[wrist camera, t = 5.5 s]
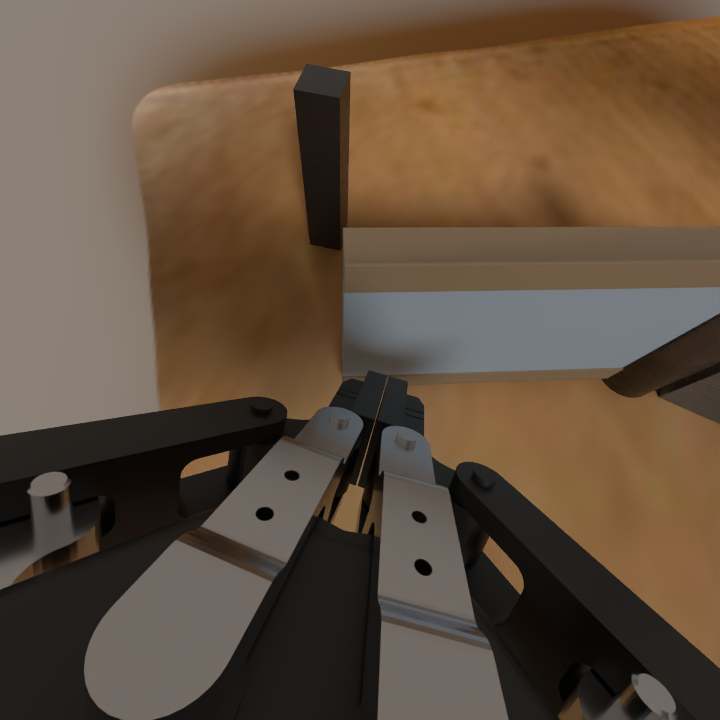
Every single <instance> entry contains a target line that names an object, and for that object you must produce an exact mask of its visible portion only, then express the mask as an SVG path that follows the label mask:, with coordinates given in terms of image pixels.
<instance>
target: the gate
mask: <svg viewBox="0 0 720 720" xmlns="http://www.w3.org/2000/svg"><path fill="white" fill-rule="evenodd" d="M719 313H720V226H707V227H386V228H343V298H342V377H343V382H344V381H346V380H348V379H351V378H353V379H356V380H360V381H363V382H364V380H365V378H366V375H367V373H368V371H369V370H371V371H374V372H377V373H381V374H384V375H387V379H386V383H385V386H386V385H387V381H388V378H389V376H391V377H394V378H398V379H401V380H405V381H408V385H423V384H453V383H483V382H514V381H544V380H574V379H604V378H609V377H611V376H612V375H614V374H616V373H618V372H620V371H621V370H623V367H625V366H626V365H628V364H630V363H632V362H634V361H635V360H637V359H639V358H641V357H642V356H644V355H646V354H648V353H650V352H651V351H653V350H655V349H657V348H659V347H660V346H662V345H664V344H666V343H667V342H669V341H671V340H673V339H675V338H676V337H678V336H680V335H682V334H684V333H685V332H687V331H689V330H691V329H692V328H694V327H696V326H698V325H700V324H701V323H703V322H705V321H707V320H709V319H710V318H712V317H714V316H716V315H717V314H719Z"/></svg>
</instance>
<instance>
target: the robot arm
mask: <svg viewBox="0 0 720 720" xmlns="http://www.w3.org/2000/svg"><path fill="white" fill-rule="evenodd" d="M386 379H387V375H384V374H381V373H377V372H374V371H371V370H369V371H368V373H367V375H366V378H365V380H364V382H363V381H360V380H356V379H353V378H351V379H348V380H346V381H344V382H343V383H342V384H341V386H340V388H339V390H338V391H337V393H336V395H335V396H334V398H333V400H332V402H331V403H330V405H329V407H324V408H321V409H320V410H318V411H317V412H316V413H315V415H314V416H313V417H312V418H311V419H310V420H297V419H288V418H286V417H287V409H286V407H285V406H284V405H283V404H281V403H280V402H278V401H276V400H273V399H270V398H265V397H248V398H242V399H235V400H229V401H223V402H216V403H210V404H203V405H197V406H190V407H184V408H177V409H171V410H164V411H158V412H151V413H146V414H138V415H132V416H125V417H119V418H113V419H106V420H99V421H93V422H87V423H80V424H74V425H67V426H61V427H54V428H48V429H41V430H35V431H28V432H22V433H16V434H9V435H3V436H0V720H720V668H718V667H717V666H716V665H715V664H714V663H713V662H712V661H711V660H709V659H708V658H707V657H706V656H705V655H704V654H703V653H701V652H700V651H699V650H698V649H697V648H696V647H695V646H694V645H692V644H691V643H690V642H689V641H688V640H687V639H686V638H684V637H683V636H682V635H681V634H680V633H679V632H678V631H676V630H675V629H674V628H673V627H672V626H671V625H670V624H669V623H667V622H666V621H665V620H664V619H663V618H662V617H661V616H659V615H658V614H657V613H656V612H655V611H654V610H653V609H651V608H650V607H649V606H648V605H647V604H646V603H645V602H644V601H642V600H641V599H640V598H639V597H638V596H637V595H636V594H634V593H633V592H632V591H631V590H630V589H629V588H628V587H626V586H625V585H624V584H623V583H622V582H621V581H620V580H619V579H617V578H616V577H615V576H614V575H613V574H612V573H611V572H609V571H608V570H607V569H606V568H605V567H604V566H603V565H601V564H600V563H599V562H598V561H597V560H596V559H595V558H594V557H592V556H591V555H590V554H589V553H588V552H587V551H586V550H584V549H583V548H582V547H581V546H580V545H579V544H578V543H576V542H575V541H574V540H573V539H572V538H571V537H570V536H569V535H567V534H566V533H565V532H564V531H563V530H562V529H561V528H559V527H558V526H557V525H556V524H555V523H554V522H553V521H551V520H550V519H549V518H548V517H547V516H546V515H545V514H544V513H542V512H541V511H540V510H539V509H538V508H537V507H536V506H534V505H533V504H532V503H531V502H530V501H529V500H528V499H527V498H525V497H524V496H523V495H522V494H521V493H520V492H519V491H517V490H516V489H515V488H514V487H513V486H512V485H511V484H509V483H508V482H507V481H506V480H505V479H504V478H503V477H502V476H500V475H499V474H498V473H497V472H495V471H494V470H492V469H490V468H488V467H486V466H484V465H481V464H478V463H474V462H463V463H460V464H459V465H458V466H457V468H456V470H455V471H454V470H453V469H451V468H449V467H447V466H445V465H443V464H441V463H440V462H438V461H437V460H435V459H434V458H433V457H432V456H431V450H430V445H429V443H428V441H427V440H426V438H424V405H423V404H422V402H421V401H420V399H419V398H417V397H413V396H410V395H407V386H408V381H405V380H401V379H398V378H394V377H391V376H389V378H388V381H387V385H386V388H385V391H384V395H383V398H382V401H381V405H380V408H379V404H380V400H381V397H382V393H383V390H384V386H385V383H386ZM378 408H379V411H378ZM377 411H378V415H377ZM376 415H377V418H376ZM375 418H376V422H375ZM374 422H375V425H374ZM373 425H374V429H373ZM372 429H373V432H372ZM371 432H372V436H371V440H370V443H369V447H368V451H367V454H366V458H365V462H364V465H363V469H362V473H361V476H360V480H359V483H358V486H359V487H362V488H364V492H363V496H362V499H361V502H360V506H359V509H358V516H357V524H356V531H355V532H348V531H344V530H342V529H340V528H338V527H336V526H334V525H333V524H332V523H333V521H334V518H335V516H336V514H337V512H338V509H339V507H340V505H341V502H342V498H343V495H344V493H345V492H346V491H347V489H348V486H349V483H350V484H353V485H356V483H357V479H358V476H359V472H360V469H361V466H362V462H363V459H364V456H365V452H366V449H367V445H368V442H369V439H370V435H371ZM226 451H230V452H229V459H228V465H227V466H224V467H220V468H217V469H213V470H210V471H206V472H203V473H199V474H196V475H192V476H188V477H185V478H181V479H180V476H181V472H182V470H183V469H184V467H185V466H186V465H187V464H189V463H190V462H191V461H193V460H195V459H198V458H202V457H206V456H210V455H214V454H218V453H222V452H226ZM489 536H490V537H491V538H492V539H493V540H494V541H495V542H496V543H497V545H498V546H499V547H500V548H501V549H502V550H503V551H504V552H505V553H506V554H507V555H508V557H509V558H510V559H511V560H512V561H513V562H514V563H515V564H516V565H517V567H518V568H519V570H520V572H521V574H522V576H523V580H524V589H523V592H522V594H521V595H520V594H519V593H518V592H517V591H516V589H515V588H514V587H513V586H512V585H511V584H510V583H509V581H508V580H507V579H506V578H505V577H504V576H503V574H502V573H501V572H500V571H499V570H498V569H497V567H496V566H495V565H494V564H493V563H492V562H491V560H490V559H489V558H488V557H487V556H486V555H485V554H484V552H483V551H482V550H483V548H484V546H485V544H486V542H487V540H488V538H489Z"/></svg>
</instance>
